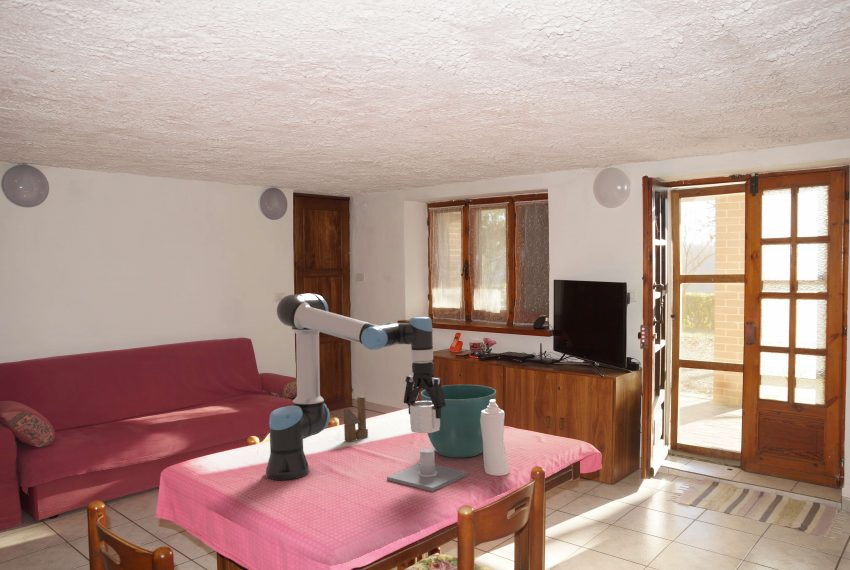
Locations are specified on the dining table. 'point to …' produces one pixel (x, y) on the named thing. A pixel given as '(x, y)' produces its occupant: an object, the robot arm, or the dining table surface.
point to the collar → (422, 417)
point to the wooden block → (355, 422)
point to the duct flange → (427, 474)
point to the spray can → (494, 440)
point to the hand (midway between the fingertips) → (425, 425)
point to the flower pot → (461, 420)
